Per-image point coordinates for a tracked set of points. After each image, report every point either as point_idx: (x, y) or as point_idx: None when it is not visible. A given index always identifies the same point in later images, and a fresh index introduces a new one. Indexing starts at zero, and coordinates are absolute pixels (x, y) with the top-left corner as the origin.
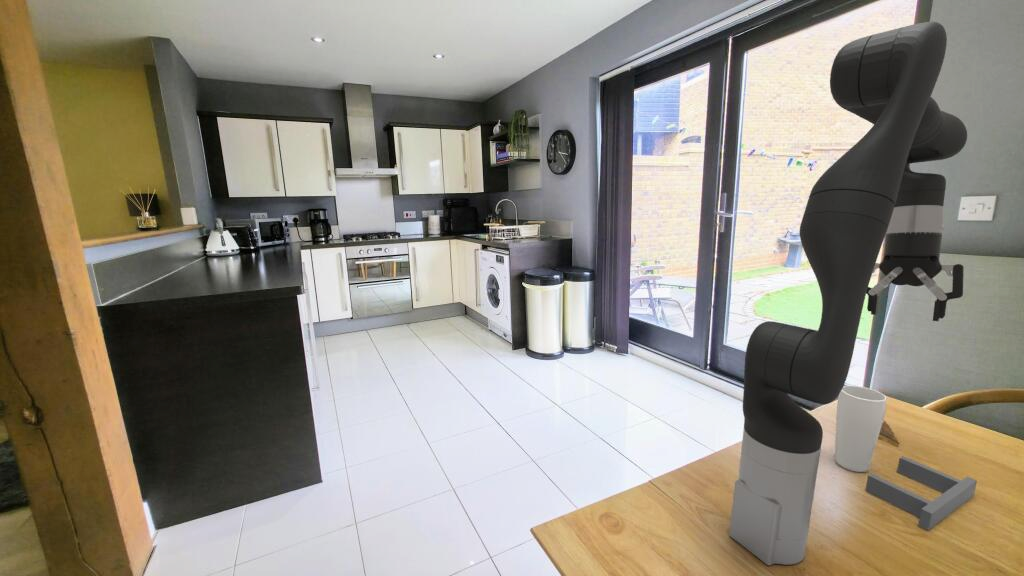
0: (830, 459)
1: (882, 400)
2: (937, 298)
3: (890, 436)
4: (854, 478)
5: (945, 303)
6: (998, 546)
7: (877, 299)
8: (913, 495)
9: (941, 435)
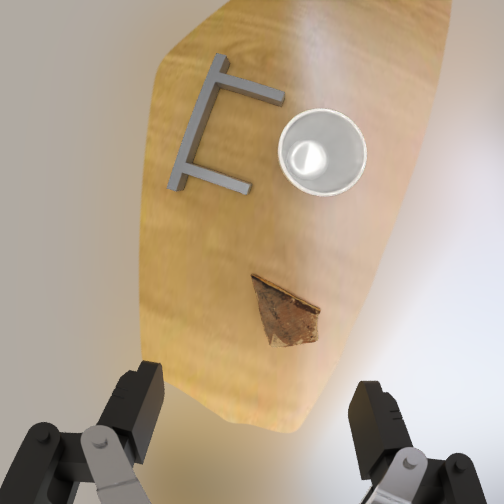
0: None
1: (285, 128)
2: (123, 447)
3: (262, 292)
4: None
5: (100, 419)
6: (164, 87)
7: (374, 444)
8: (233, 79)
9: (206, 353)
